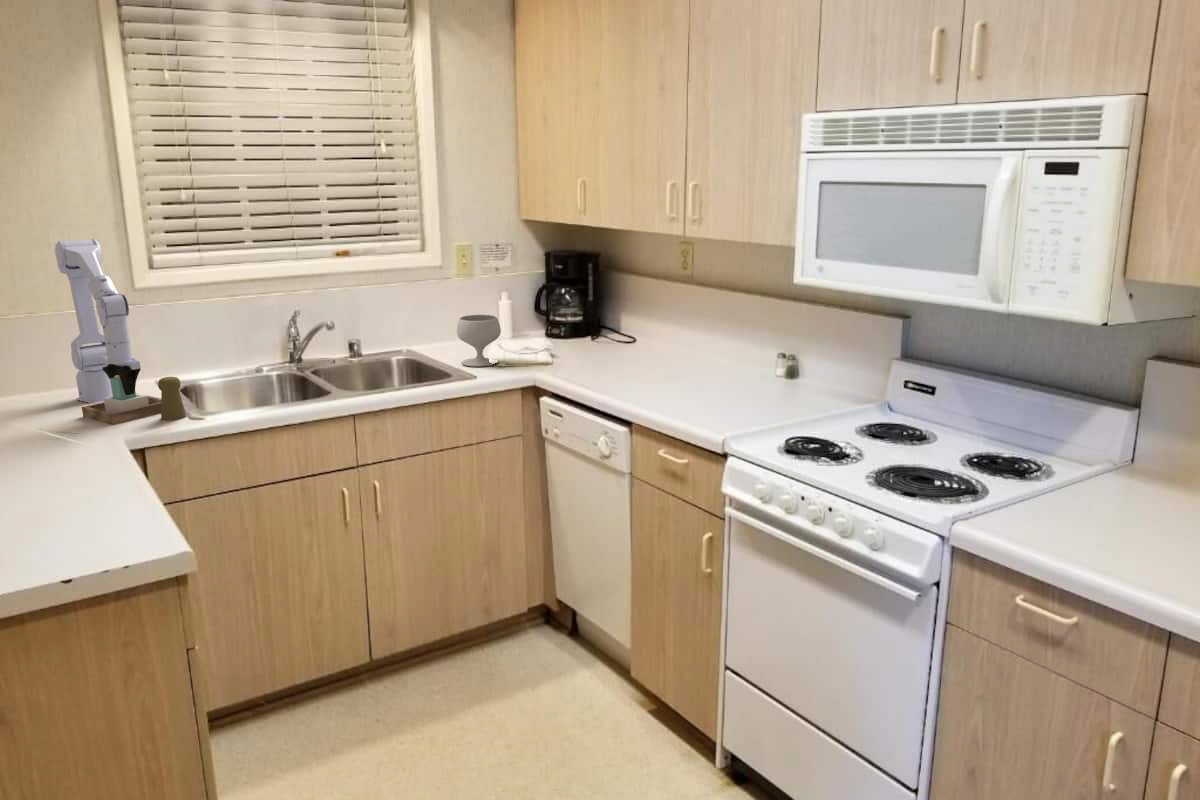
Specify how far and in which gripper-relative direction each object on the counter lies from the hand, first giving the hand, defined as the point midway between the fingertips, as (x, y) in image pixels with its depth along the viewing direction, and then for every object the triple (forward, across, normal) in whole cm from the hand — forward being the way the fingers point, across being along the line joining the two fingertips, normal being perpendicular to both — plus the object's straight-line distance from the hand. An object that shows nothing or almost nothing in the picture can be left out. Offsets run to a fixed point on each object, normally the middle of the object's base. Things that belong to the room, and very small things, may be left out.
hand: (125, 393), depth 240 cm
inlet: (+6, 0, 0) cm, 6 cm away
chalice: (+6, +40, +95) cm, 103 cm away
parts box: (+6, 0, 0) cm, 6 cm away
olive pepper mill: (+6, +14, +4) cm, 16 cm away
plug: (+3, 0, 0) cm, 3 cm away
